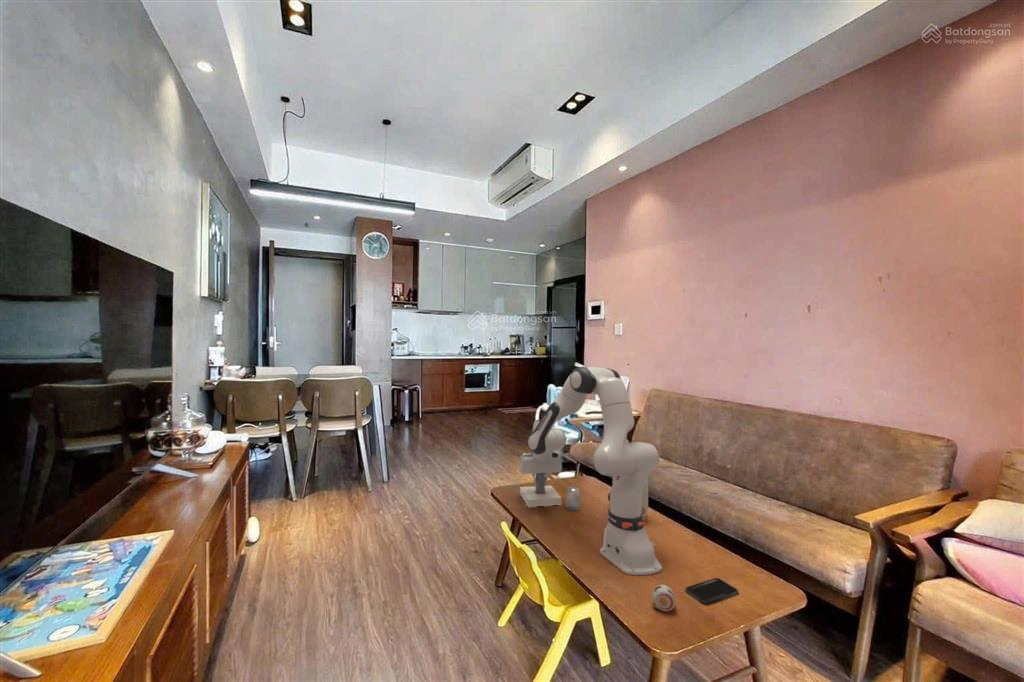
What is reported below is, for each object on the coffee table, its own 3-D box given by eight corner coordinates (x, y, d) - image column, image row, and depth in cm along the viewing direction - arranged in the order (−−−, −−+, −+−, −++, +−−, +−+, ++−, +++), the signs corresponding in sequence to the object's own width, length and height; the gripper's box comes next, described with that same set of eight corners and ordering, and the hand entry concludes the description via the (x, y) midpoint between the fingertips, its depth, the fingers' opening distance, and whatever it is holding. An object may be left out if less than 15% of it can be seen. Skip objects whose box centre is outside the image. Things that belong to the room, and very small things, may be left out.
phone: (683, 588, 125) (717, 577, 131) (683, 591, 125) (717, 580, 131) (705, 603, 117) (740, 591, 124) (705, 607, 117) (740, 594, 124)
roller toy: (676, 615, 113) (677, 594, 113) (652, 611, 115) (653, 590, 115) (674, 605, 118) (674, 585, 118) (650, 601, 119) (651, 581, 119)
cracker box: (642, 516, 178) (643, 468, 178) (648, 522, 172) (649, 472, 172) (611, 517, 176) (612, 468, 176) (616, 523, 170) (617, 473, 170)
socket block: (561, 505, 188) (561, 497, 188) (527, 507, 184) (528, 499, 184) (550, 492, 203) (551, 485, 203) (519, 494, 200) (519, 487, 200)
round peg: (580, 510, 182) (581, 490, 182) (569, 511, 181) (569, 491, 181) (576, 505, 188) (576, 486, 188) (564, 506, 187) (565, 486, 187)
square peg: (544, 492, 192) (545, 473, 192) (537, 492, 192) (538, 473, 192) (542, 489, 196) (543, 471, 196) (535, 490, 195) (536, 471, 195)
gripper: (521, 455, 188) (520, 485, 188) (563, 454, 193) (562, 483, 193) (518, 451, 195) (517, 480, 195) (559, 450, 199) (558, 478, 199)
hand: (540, 481), depth 194 cm, fingers closed on square peg, 3 cm apart
